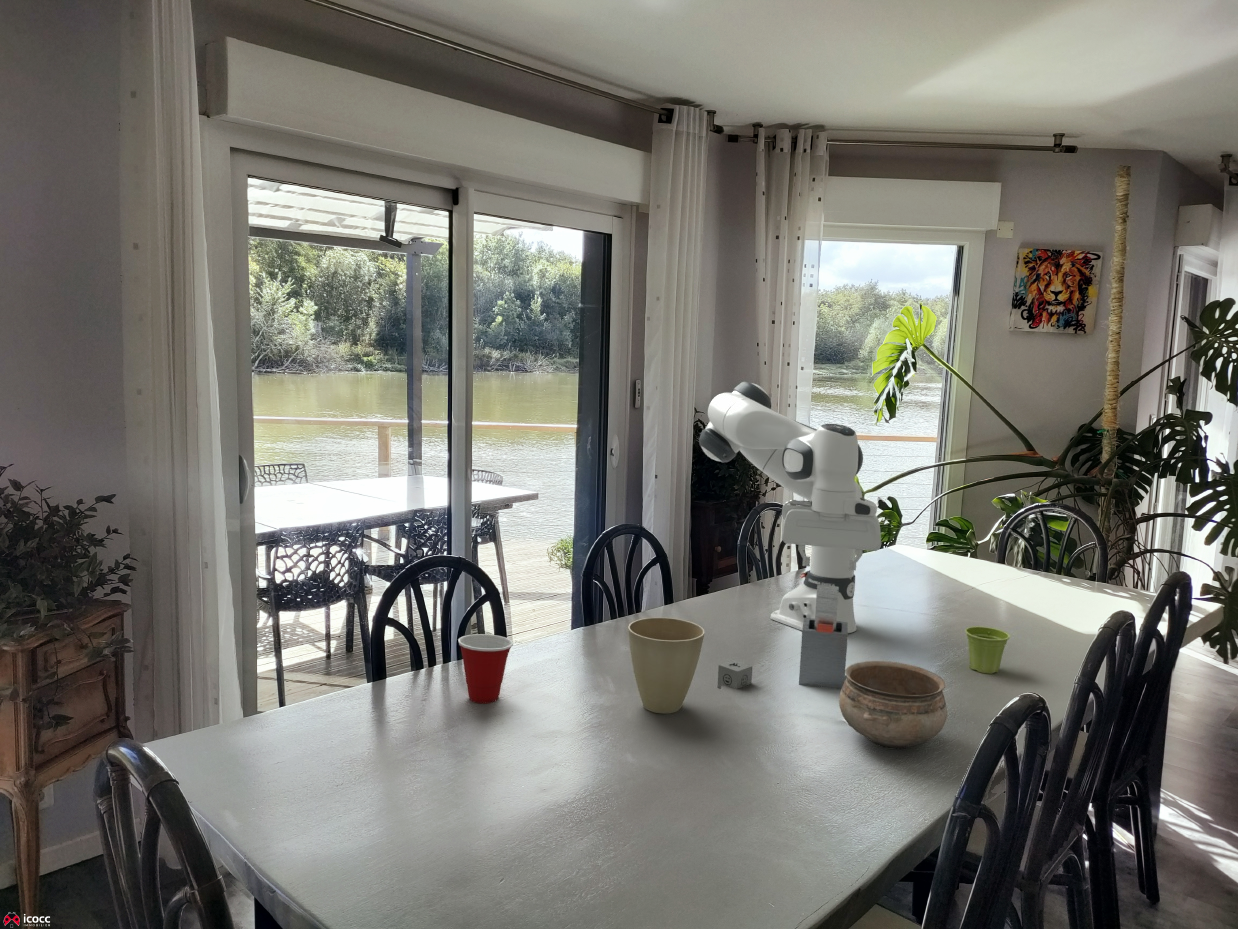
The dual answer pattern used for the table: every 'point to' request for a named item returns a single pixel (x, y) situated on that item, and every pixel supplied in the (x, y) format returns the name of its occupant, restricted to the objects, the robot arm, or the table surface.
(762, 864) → the table surface
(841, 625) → the sleeve
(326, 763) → the table surface
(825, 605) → the column
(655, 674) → the plant pot
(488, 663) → the plastic cup
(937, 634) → the table surface
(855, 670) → the cooking pot
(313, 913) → the table surface
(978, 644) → the plant pot
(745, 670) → the dice cube
